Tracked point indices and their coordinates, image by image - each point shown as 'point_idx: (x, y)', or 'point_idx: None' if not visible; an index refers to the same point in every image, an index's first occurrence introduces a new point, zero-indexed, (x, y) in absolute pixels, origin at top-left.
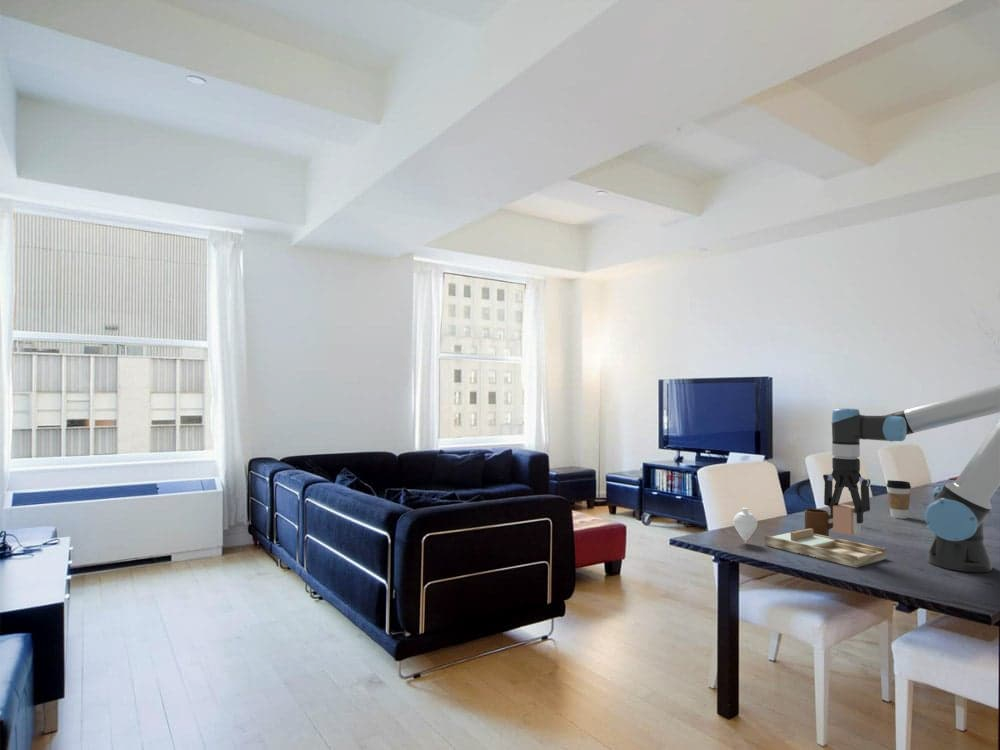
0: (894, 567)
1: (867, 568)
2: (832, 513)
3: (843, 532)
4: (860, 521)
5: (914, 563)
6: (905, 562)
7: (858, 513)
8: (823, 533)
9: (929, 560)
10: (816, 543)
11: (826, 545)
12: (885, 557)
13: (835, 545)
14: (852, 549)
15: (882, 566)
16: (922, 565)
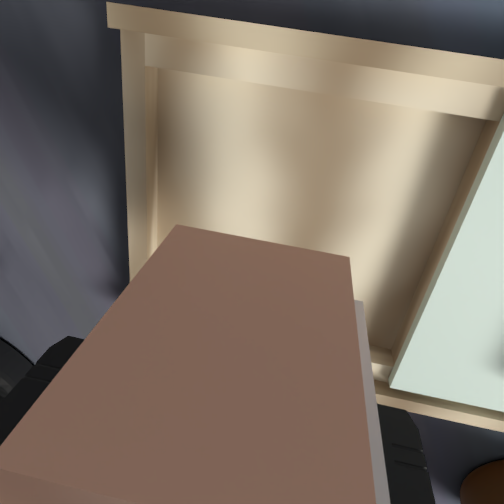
0: (47, 197)
1: (99, 54)
2: (399, 466)
3: (245, 240)
4: (49, 353)
5: (51, 321)
6: (76, 314)
7: (2, 441)
8: (486, 495)
9: (24, 367)
10: (478, 230)
11: (419, 300)
12: None
13: (382, 353)
14: None
15: (84, 171)
16: (20, 312)
